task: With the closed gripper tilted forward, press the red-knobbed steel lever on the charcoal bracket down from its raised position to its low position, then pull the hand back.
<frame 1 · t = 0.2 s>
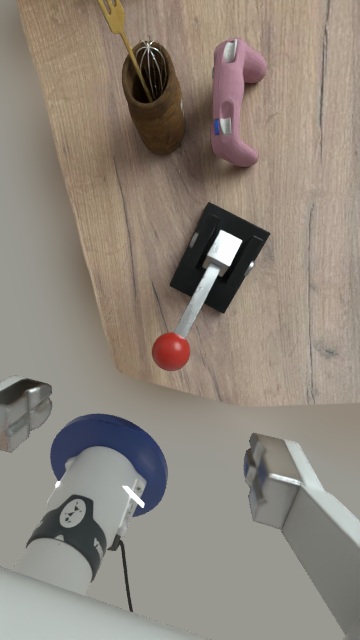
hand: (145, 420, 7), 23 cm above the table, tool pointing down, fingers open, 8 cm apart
bracket: (216, 261, 27), on the table
pink toy car: (234, 127, 24), on the table
utensil holder: (163, 130, 25), on the table
lever: (196, 301, 17), point 12 cm above the table, hinge at 25.0°
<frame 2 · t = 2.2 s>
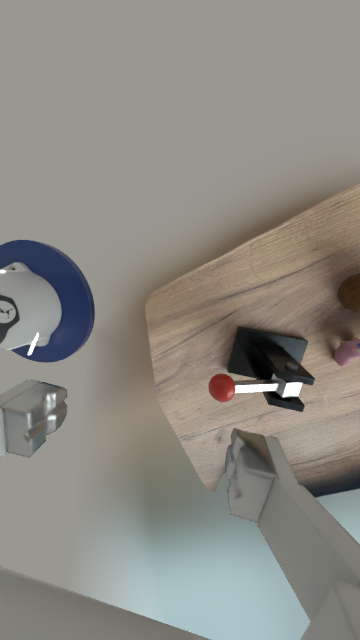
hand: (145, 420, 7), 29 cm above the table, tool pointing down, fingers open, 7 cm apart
bracket: (264, 354, 36), on the table
utensil holder: (356, 291, 31), on the table
lever: (255, 385, 24), point 12 cm above the table, hinge at 25.0°
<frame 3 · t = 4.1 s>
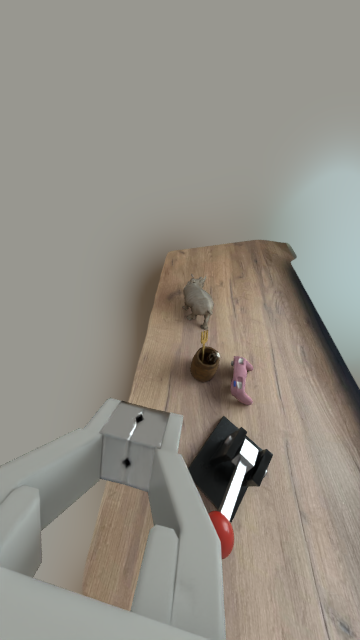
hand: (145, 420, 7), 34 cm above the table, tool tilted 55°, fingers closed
bracket: (225, 462, 34), on the table
rhinoceros figurine: (194, 309, 60), on the table
pink toy car: (238, 383, 45), on the table
utensil holder: (201, 370, 46), on the table
lever: (233, 488, 23), point 12 cm above the table, hinge at 25.0°
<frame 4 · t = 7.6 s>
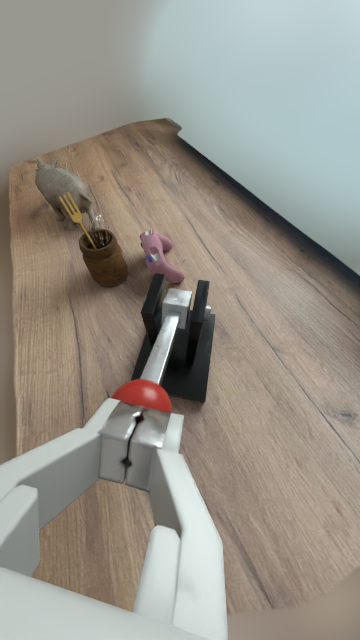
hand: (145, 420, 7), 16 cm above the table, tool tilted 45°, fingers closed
bracket: (176, 349, 26), on the table
rhinoceros figurine: (76, 216, 42), on the table
pink toy car: (162, 267, 34), on the table
utensil holder: (111, 275, 33), on the table
lever: (163, 345, 13), point 12 cm above the table, hinge at 23.3°, touching gripper
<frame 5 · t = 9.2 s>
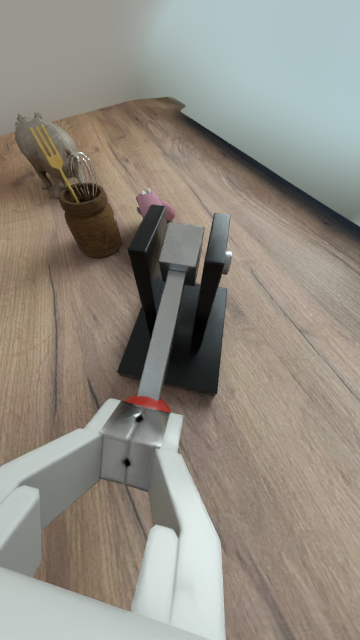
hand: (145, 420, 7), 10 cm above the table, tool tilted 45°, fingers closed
bracket: (179, 330, 21), on the table
rhinoceros figurine: (65, 185, 37), on the table
pink toy car: (162, 239, 29), on the table
utensil holder: (101, 246, 28), on the table
lever: (164, 332, 11), point 9 cm above the table, hinge at -14.3°, touching gripper
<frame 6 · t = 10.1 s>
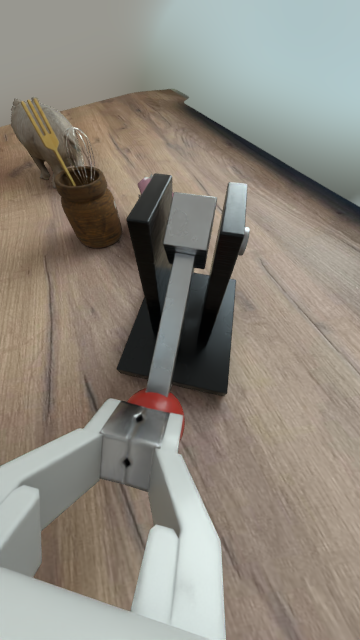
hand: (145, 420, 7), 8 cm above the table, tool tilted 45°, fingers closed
bracket: (184, 324, 19), on the table
rhinoceros figurine: (64, 175, 35), on the table
utensil holder: (101, 236, 26), on the table
lever: (172, 324, 10), point 8 cm above the table, hinge at -24.5°
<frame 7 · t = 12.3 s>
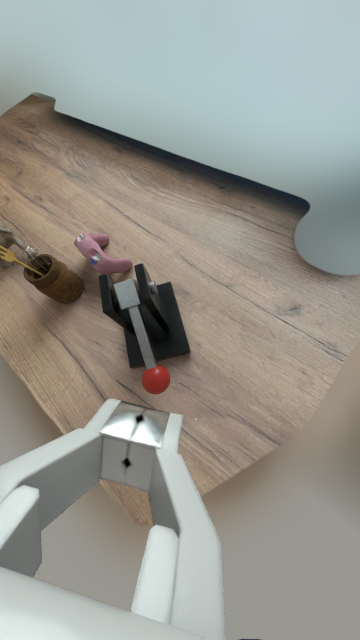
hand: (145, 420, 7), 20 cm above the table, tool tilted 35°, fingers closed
bracket: (153, 324, 30), on the table
rhinoceros figurine: (6, 250, 41), on the table
pink toy car: (109, 262, 36), on the table
utensil holder: (69, 290, 35), on the table
lever: (143, 338, 21), point 8 cm above the table, hinge at -24.5°
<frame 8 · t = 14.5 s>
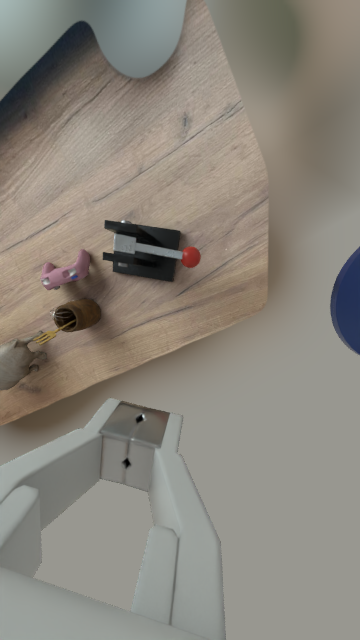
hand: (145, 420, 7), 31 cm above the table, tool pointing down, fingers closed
bracket: (146, 252, 36), on the table
rhinoceros figurine: (28, 356, 46), on the table
pink toy car: (74, 270, 40), on the table
utensil holder: (89, 312, 41), on the table
lever: (160, 251, 28), point 8 cm above the table, hinge at -24.5°
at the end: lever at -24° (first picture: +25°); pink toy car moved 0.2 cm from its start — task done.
